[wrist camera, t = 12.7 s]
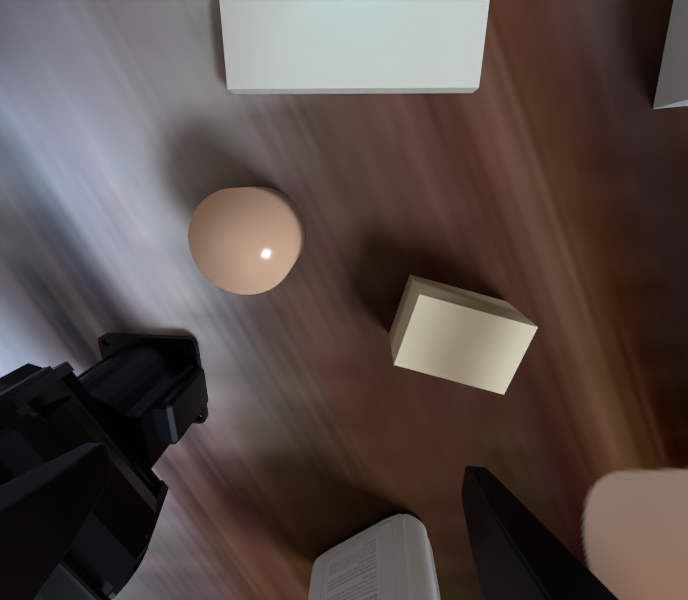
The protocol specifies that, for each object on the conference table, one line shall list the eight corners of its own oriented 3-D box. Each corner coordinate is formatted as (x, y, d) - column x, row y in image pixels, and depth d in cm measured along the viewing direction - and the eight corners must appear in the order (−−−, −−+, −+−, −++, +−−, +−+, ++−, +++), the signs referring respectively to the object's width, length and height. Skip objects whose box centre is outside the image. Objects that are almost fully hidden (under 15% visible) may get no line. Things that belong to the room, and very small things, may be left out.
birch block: (388, 332, 21) (394, 364, 18) (409, 273, 20) (419, 294, 16) (479, 357, 21) (503, 394, 18) (505, 300, 20) (537, 327, 16)
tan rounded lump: (202, 231, 20) (167, 242, 16) (258, 166, 18) (234, 162, 15) (266, 290, 21) (248, 314, 17) (323, 232, 20) (317, 245, 16)
